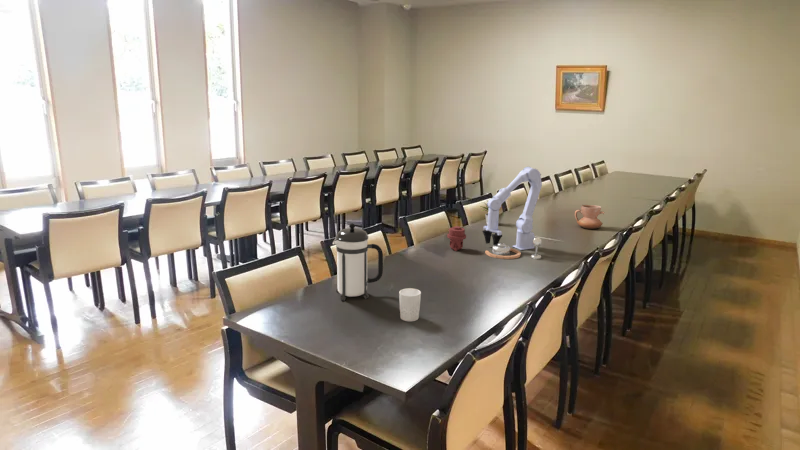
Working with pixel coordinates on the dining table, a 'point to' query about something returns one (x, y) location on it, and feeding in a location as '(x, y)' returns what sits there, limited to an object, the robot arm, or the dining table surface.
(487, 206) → the house plant
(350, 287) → the coffee press
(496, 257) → the ring
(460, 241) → the mechanical component
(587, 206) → the ceramic jug
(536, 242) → the wine glass
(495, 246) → the cast cover
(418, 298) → the white cup
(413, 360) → the dining table surface
